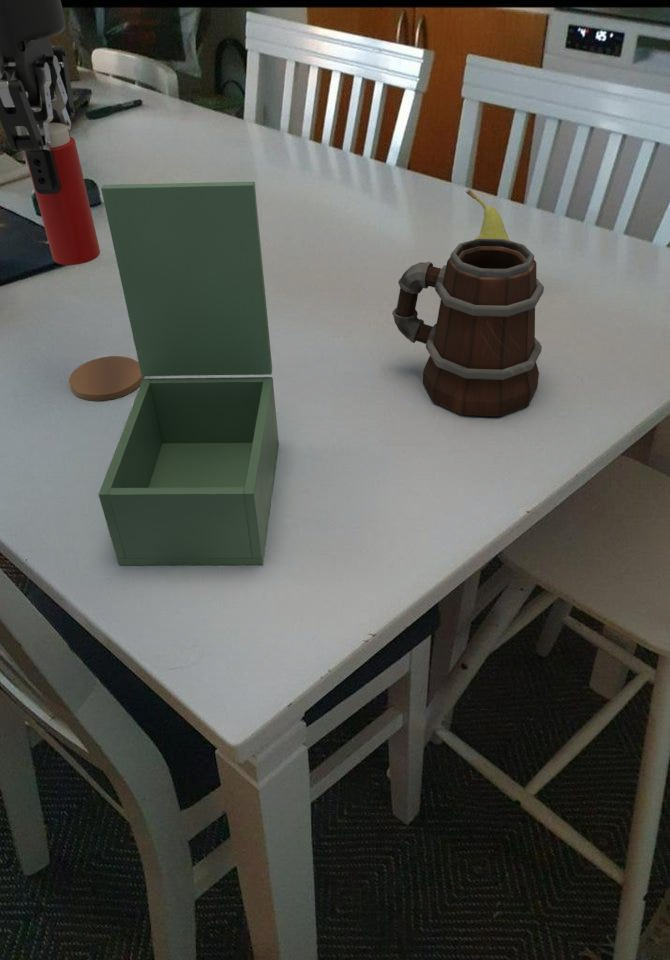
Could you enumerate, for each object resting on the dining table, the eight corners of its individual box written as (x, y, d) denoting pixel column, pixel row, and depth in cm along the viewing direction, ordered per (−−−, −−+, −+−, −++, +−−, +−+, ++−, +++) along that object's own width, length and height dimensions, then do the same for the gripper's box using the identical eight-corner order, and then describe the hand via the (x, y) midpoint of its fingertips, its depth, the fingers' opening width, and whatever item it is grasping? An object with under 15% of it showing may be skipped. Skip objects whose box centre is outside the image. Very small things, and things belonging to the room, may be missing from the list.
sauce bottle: (59, 269, 78) (25, 139, 70) (48, 252, 81) (14, 126, 73) (105, 258, 80) (77, 130, 72) (93, 242, 83) (64, 118, 75)
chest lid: (253, 184, 63) (260, 163, 67) (100, 188, 64) (115, 166, 67) (271, 374, 74) (276, 347, 78) (141, 376, 75) (152, 348, 79)
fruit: (503, 303, 101) (513, 208, 93) (448, 290, 104) (453, 197, 96) (523, 282, 105) (534, 190, 97) (470, 270, 108) (477, 180, 101)
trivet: (81, 409, 86) (79, 402, 85) (62, 374, 91) (61, 368, 91) (153, 387, 88) (152, 381, 88) (131, 355, 94) (130, 349, 93)
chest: (262, 565, 67) (253, 493, 62) (118, 565, 67) (98, 494, 63) (278, 444, 80) (272, 376, 75) (157, 445, 80) (143, 378, 75)
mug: (546, 369, 89) (566, 238, 79) (517, 429, 80) (536, 290, 71) (411, 342, 94) (415, 216, 84) (371, 396, 86) (371, 263, 76)
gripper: (-10, -43, 71) (41, 158, 81) (-79, -16, 60) (-9, 212, 70) (75, -45, 70) (115, 156, 81) (22, -19, 59) (76, 210, 70)
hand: (57, 181), depth 76 cm, fingers closed on sauce bottle, 4 cm apart
